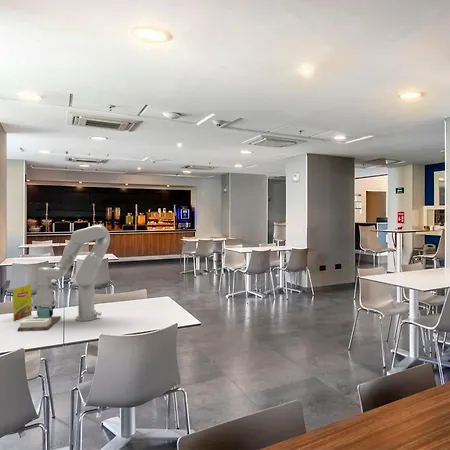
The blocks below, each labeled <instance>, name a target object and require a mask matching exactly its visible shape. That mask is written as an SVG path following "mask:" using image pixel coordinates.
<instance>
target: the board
mask: <svg viewBox="0 0 450 450" xmlns="http://www.w3.org/2000/svg"><path fill="white" fill-rule="evenodd" d="M32 318H38V316H33V317H32ZM61 319H62V316H61V315H59V316H58V315H55V316H54V315H52V317H51V324H49V325H48V326H47V327H31V328H20V326H19V327H18V328H17V332H26V331H28V332H31V331H32V332H34V331H49V330H50V329H51V328H52V327H53V326H54V325H56V324H57V323H58V322H59V321H60V320H61Z"/></svg>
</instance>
